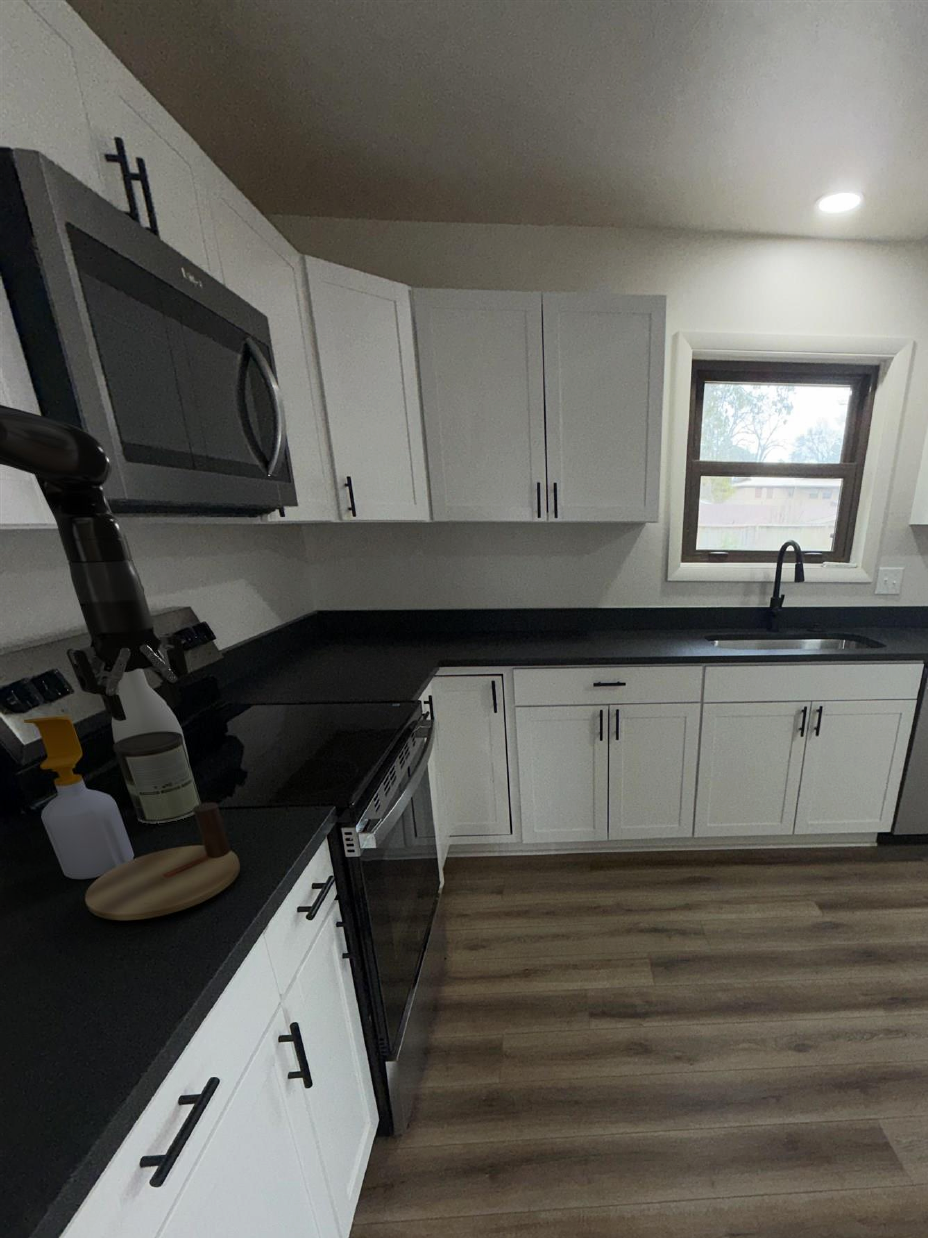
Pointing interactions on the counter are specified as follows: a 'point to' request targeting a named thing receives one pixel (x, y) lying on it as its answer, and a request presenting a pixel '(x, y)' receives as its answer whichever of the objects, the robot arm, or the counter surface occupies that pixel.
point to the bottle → (142, 709)
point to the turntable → (168, 875)
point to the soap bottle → (79, 809)
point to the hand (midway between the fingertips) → (147, 712)
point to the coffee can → (158, 776)
